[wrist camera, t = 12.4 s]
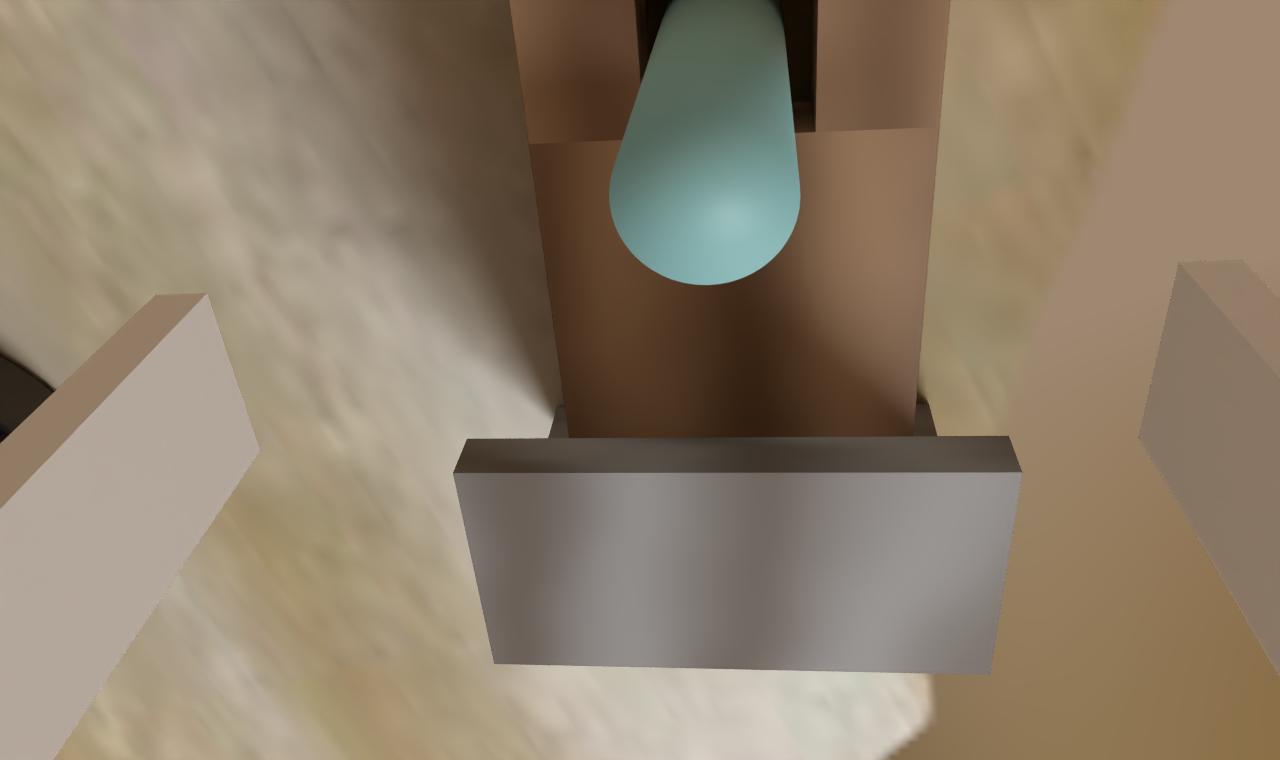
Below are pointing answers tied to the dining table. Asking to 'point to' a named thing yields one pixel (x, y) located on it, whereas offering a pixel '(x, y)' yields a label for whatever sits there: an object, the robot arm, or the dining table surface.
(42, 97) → the dining table surface
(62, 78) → the dining table surface
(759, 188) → the peg
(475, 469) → the socket station
